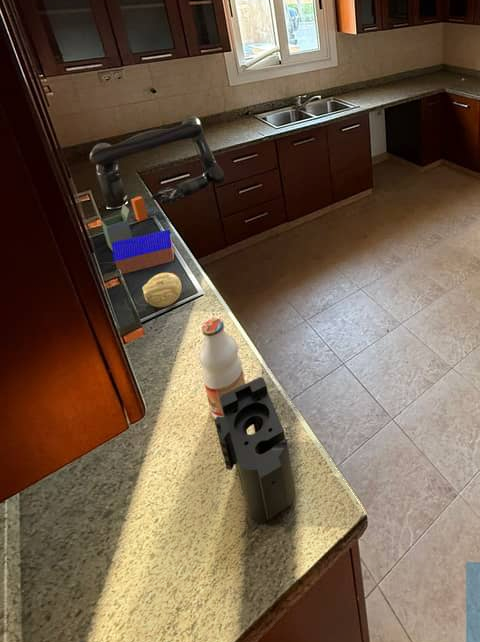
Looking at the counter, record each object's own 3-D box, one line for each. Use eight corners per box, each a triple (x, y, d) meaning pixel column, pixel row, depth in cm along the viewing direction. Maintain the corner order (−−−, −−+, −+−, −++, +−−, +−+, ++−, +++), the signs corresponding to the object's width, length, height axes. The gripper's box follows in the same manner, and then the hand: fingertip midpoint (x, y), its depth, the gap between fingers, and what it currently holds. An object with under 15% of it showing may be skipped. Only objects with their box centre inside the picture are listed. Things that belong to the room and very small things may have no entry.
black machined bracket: (272, 435, 108) (261, 370, 99) (303, 514, 91) (293, 445, 83) (223, 462, 101) (207, 396, 93) (247, 552, 85) (230, 481, 77)
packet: (144, 216, 209) (139, 196, 205) (147, 217, 208) (142, 197, 204) (136, 219, 206) (130, 199, 202) (139, 221, 205) (134, 201, 201)
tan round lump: (146, 316, 146) (139, 291, 142) (149, 294, 156) (142, 270, 152) (183, 306, 151) (177, 281, 147) (184, 286, 161) (178, 262, 157)
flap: (123, 204, 186) (124, 204, 186) (120, 212, 186) (121, 212, 187) (129, 210, 181) (130, 210, 181) (126, 218, 181) (127, 218, 182)
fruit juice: (241, 422, 111) (224, 340, 100) (205, 422, 111) (184, 340, 100) (253, 390, 119) (238, 311, 109) (219, 390, 120) (201, 311, 109)
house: (175, 260, 175) (169, 236, 171) (118, 275, 167) (110, 250, 162) (174, 246, 185) (168, 222, 181) (120, 259, 177) (113, 235, 172)
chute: (108, 245, 186) (100, 220, 181) (128, 238, 191) (121, 213, 187) (113, 253, 181) (106, 227, 176) (134, 245, 186) (127, 220, 182)
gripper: (178, 178, 226) (147, 190, 214) (194, 184, 219) (163, 197, 206) (181, 190, 229) (151, 203, 216) (197, 197, 222) (166, 210, 209)
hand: (157, 200), depth 211 cm, fingers open, 8 cm apart
